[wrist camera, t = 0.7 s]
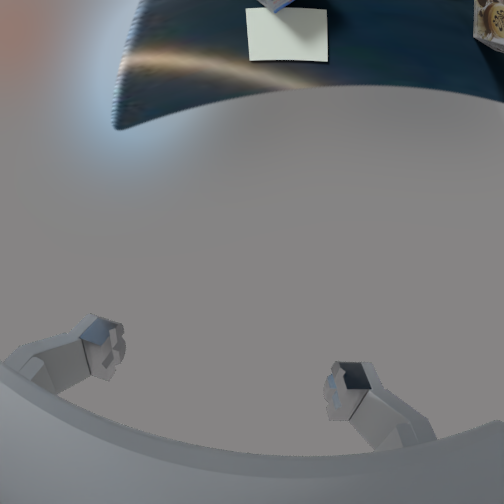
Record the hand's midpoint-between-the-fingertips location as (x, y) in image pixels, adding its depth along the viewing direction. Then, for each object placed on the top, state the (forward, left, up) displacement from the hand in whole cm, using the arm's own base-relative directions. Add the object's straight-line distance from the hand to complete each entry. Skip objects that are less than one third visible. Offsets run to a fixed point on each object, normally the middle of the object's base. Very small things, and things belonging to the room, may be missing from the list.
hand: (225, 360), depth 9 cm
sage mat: (-11, +4, -38) cm, 39 cm away
